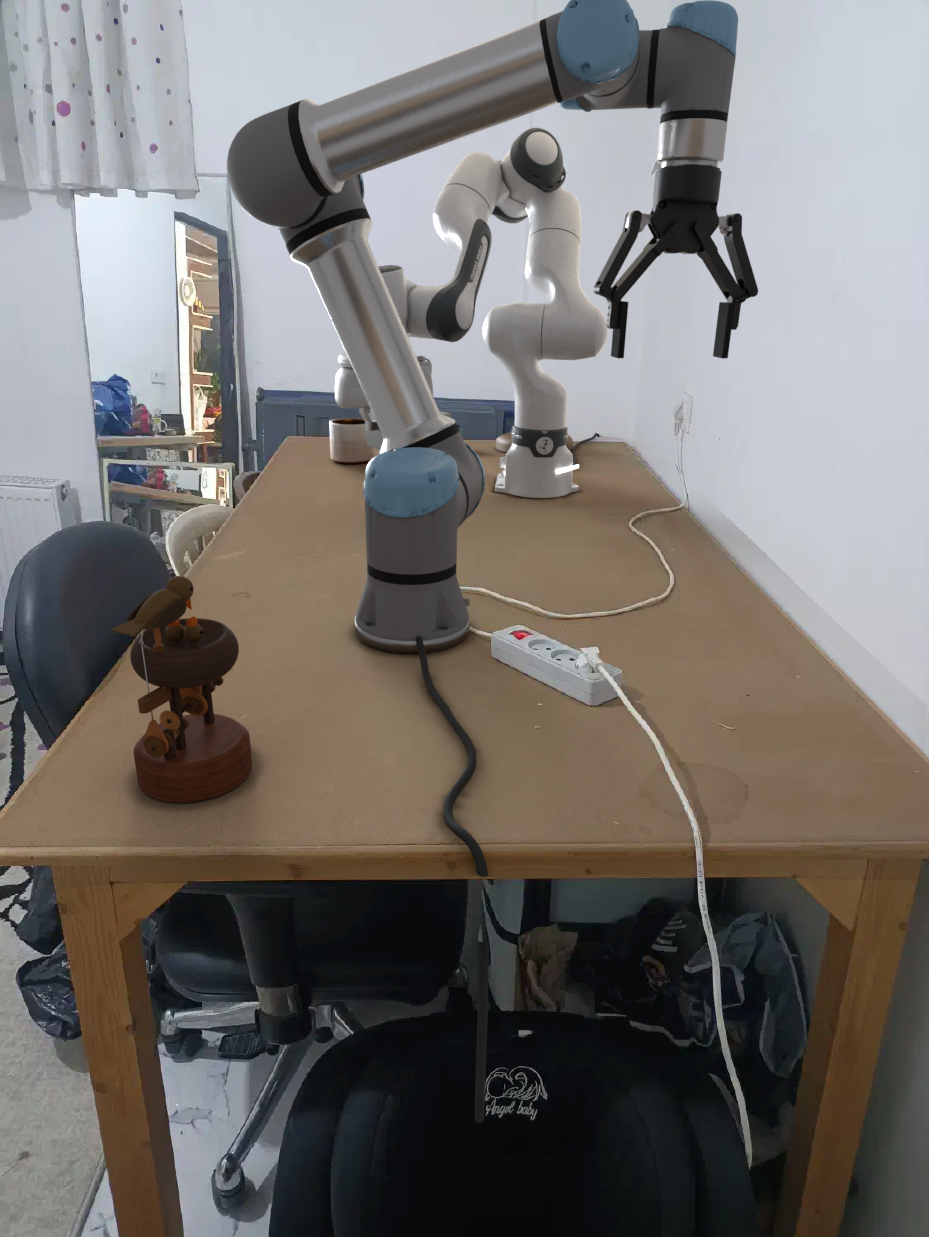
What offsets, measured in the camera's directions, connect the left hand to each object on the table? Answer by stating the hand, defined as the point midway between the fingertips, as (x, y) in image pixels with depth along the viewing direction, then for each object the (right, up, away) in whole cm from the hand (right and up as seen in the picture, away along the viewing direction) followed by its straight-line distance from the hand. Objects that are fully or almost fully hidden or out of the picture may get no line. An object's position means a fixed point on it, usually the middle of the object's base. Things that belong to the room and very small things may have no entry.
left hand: (669, 357), depth 106 cm
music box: (-51, -47, -25) cm, 74 cm away
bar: (-37, -1, +56) cm, 67 cm away
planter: (-54, +7, +108) cm, 121 cm away
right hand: (-41, +5, +62) cm, 74 cm away
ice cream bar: (-6, +11, +119) cm, 120 cm away
